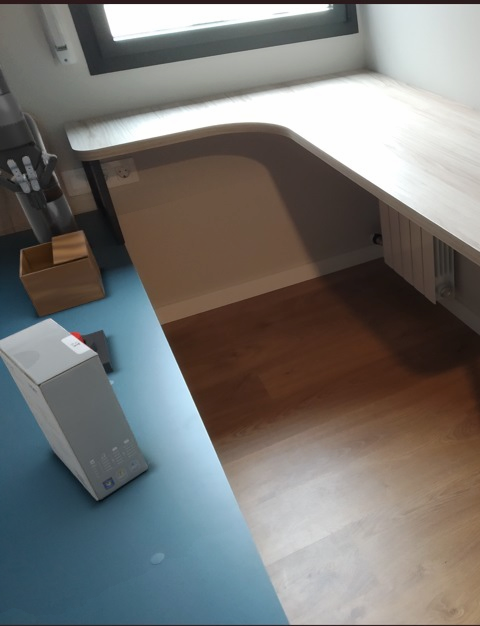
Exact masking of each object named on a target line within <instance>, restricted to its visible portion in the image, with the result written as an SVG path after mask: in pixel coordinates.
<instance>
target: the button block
mask: <svg viewBox="0 0 480 626" xmlns="http://www.w3.org/2000/svg"><path fill="white" fill-rule="evenodd" d="M80 335H81V337H82V339H83V341H84V343H85V345H87V346H88V347H89V348H91V349H92V350H93V351H94V352H96V353H97V354H98V356H99V359H100V361H101V363H102V365H103V368H104V370H105V372H106V375H108V374H110V373H114V367H113V362H112V357H111V353H110V347H109V342H108V338H107V336H106V333H105V331H104V329H101V330H97V331H94V332H91V333H88V334H80Z"/></svg>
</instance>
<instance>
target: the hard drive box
mask: <svg viewBox="0 0 480 626" xmlns="http://www.w3.org/2000/svg"><path fill="white" fill-rule="evenodd" d="M70 333H71V332H69V331H68V330H66V329H65V328H64V327H63V326H61V325H60V324H59V323H57V322H56V321H55V320H53V319H52V318H47V319H43V320H42V321H40V322H38V323H36V324H33V325H31V326H29V327H26V328H24V329H22V330H19V331H17V332H15V333H13V334H11V335H9V336H6V337H4V338H2V339H0V357H1V359H2V361H3V363H4V365H5V366H6V368H7V370H8V371H9V374H10V375H11V377H12V378H13V381H14V382H15V384H16V386H17V388H18V390H19V391H20V394H21V395H22V397H23V399H24V401H25V402H26V404H27V406H28V408H29V410H30V411H31V413H32V415H33V417H34V418H35V421H36V422H37V424H38V426H39V428H40V429H41V432H42V433H43V435H44V437H45V439H46V441H47V442H48V444H49V446H50V447H51V449H52V451H53V452H54V454H55V455H56V456H57V457H58V458H59V459H60V461H61V462H62V463H64V465H65V466H66V467H67V468H68V469H69V470H70V472H71V473H72V474H73V476H74V477H76V479H77V480H78V481H79V482H80V483H81V485H82V486H83V487H84V488H85V489H86V490H87V491H88V493H89V494H90V495H91V496H92V497H93V498H94V499H95V501H99V500H103V499H104V498H106V497H107V496H109V495H110V494H112V493H113V492H115V491H117V490H118V489H120V488H121V487H122V486H124V485H126V484H127V483H129V482H130V481H131V480H133V479H135V478H136V477H138V476H139V475H140V474H142V473H143V472H145V471H147V470H148V469H149V466H148V463H147V462H146V459H145V457H144V455H143V452H142V450H141V448H140V446H139V443H138V441H137V439H136V437H135V435H134V431H133V430H132V428H131V426H130V423H129V421H128V419H127V417H126V415H125V412H124V410H123V408H122V406H121V403H120V401H119V399H118V397H117V395H116V393H115V390H114V389H113V386H112V384H111V383H112V382H110V379H109V377H108V374H106V372H105V370H104V368H103V365H102V363H101V361H100V359H99V356H98V354H97V353H96V352H94V351H93V350H92V349H91V348H89V347H88V346H87V345H85V344H84V343H83V342H81V341H80V340H79V339H77V338H76V337H75V336H73V335H71V334H70Z"/></svg>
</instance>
